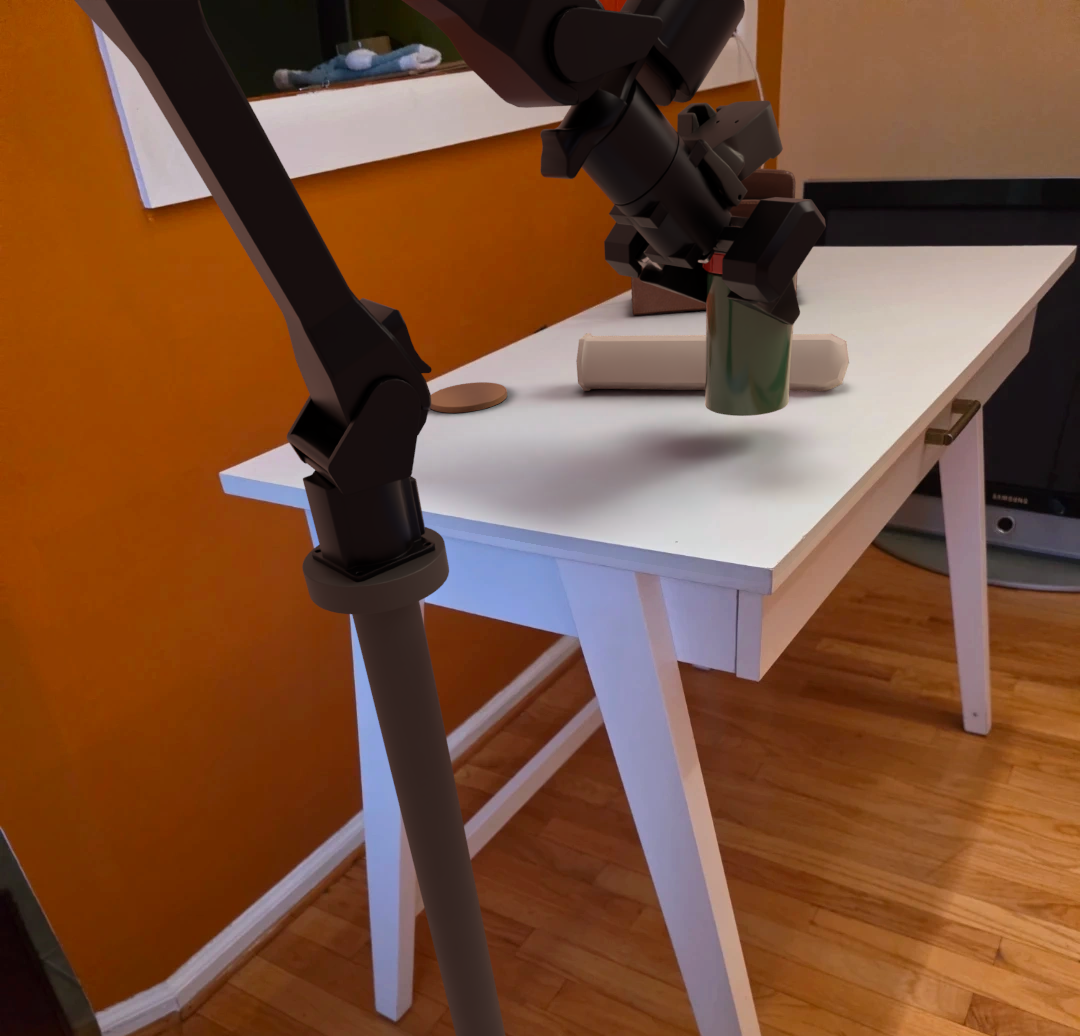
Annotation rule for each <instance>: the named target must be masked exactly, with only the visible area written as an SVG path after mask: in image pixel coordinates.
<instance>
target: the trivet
mask: <svg viewBox="0 0 1080 1036" xmlns="http://www.w3.org/2000/svg"><path fill="white" fill-rule="evenodd" d="M507 390H508V389H507V388H506V387H505V386H504V385H503V384H499V383H497V382H484V381H483V382H481V381H479V382H478V381H477V382H466V383H460V384H456V385H450V386H447V387H444V388H441V389H438V390H436V391H435V392H433V393H432V394H431V393H430V394H431V407H430V408H429V409H431V410H433V411H436V412H440V413H448V414H456V413H457V414H459V413H460V414H461V413H470V412H475V411H480V410H485V409H488V408H491V407H494V406H496V405H498V404H500V403H502V402H503V401H505V400H506V399H507V397H508V391H507Z"/></svg>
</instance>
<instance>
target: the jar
mask: <svg viewBox="0 0 1080 1036" xmlns="http://www.w3.org/2000/svg"><path fill="white" fill-rule="evenodd" d="M796 276H797V277H798V271H797V272H796V274H795V275H794V277H793V283H794V287H795V291H796ZM730 291H731V290H730V289H729V287H728V286H727V285H726V284H725V283H724V281H723V280H722V274H717V273H711V272H708V271H707V293H706V310H705V316H706V317H705V335H706V374H705V390H704V406H705V408H706V409H707V410H708V411H711V412H713V413H715V414H719V415H726V416H733V417H735V416H736V417H747V416H749V417H750V416H751V417H752V416H761V415H766V414H771V413H774V412H778V411H780V410H783V409H784V408H786V407H787V406H788V405H789V402H790V391H789V390H790V374H791V357H792V341H793V334H794V324H795V323H794V324H793V325H788V324H786V323H783V322H781V321H778V320H776V319H774V318H771V317H769V316H767V315H765V314H762V313H760V312H758V311H756V310H753V309H751V308H749V307H747V306H744V305H742V304H740V303H737V302H735V301H733V300H731V299H729V298H727V296H728V294H729V293H730Z"/></svg>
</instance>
